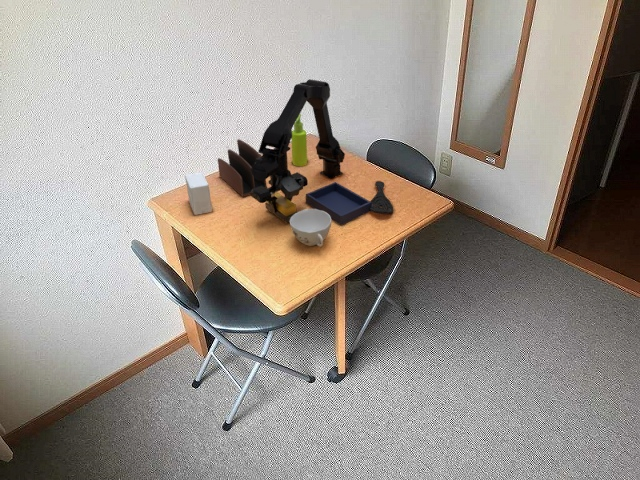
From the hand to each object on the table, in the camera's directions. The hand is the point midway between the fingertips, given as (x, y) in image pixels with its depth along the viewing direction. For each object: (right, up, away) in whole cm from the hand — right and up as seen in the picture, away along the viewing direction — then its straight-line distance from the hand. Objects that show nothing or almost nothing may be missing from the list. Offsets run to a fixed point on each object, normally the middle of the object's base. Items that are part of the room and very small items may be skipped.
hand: (281, 209), depth 162 cm
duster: (0, -1, +1) cm, 1 cm away
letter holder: (-16, +11, +20) cm, 28 cm away
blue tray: (+19, +1, +6) cm, 20 cm away
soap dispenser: (+5, +20, +33) cm, 39 cm away
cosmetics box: (-28, +1, +7) cm, 29 cm away
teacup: (+10, -11, -12) cm, 19 cm away
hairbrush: (+34, +4, +9) cm, 35 cm away
